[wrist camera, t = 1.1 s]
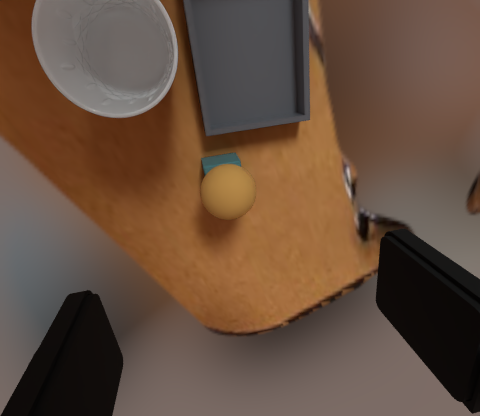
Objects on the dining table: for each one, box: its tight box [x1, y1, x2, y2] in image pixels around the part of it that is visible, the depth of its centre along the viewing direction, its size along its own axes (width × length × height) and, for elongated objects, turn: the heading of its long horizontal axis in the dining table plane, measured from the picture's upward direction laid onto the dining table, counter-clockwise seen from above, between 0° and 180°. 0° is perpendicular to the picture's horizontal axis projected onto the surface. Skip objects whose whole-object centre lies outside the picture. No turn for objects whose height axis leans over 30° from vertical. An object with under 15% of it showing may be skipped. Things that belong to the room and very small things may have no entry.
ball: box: [200, 164, 256, 220], centre depth 27 cm, size 5×5×5 cm
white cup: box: [32, 0, 178, 118], centre depth 22 cm, size 8×8×10 cm
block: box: [201, 153, 241, 176], centre depth 31 cm, size 4×4×4 cm
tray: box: [182, 0, 310, 136], centre depth 27 cm, size 13×10×3 cm
